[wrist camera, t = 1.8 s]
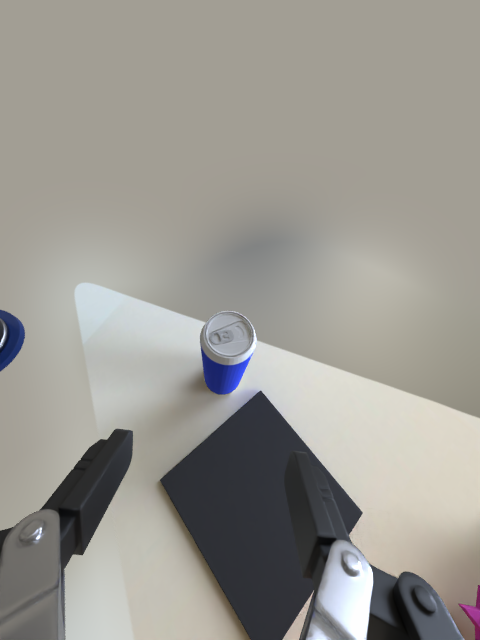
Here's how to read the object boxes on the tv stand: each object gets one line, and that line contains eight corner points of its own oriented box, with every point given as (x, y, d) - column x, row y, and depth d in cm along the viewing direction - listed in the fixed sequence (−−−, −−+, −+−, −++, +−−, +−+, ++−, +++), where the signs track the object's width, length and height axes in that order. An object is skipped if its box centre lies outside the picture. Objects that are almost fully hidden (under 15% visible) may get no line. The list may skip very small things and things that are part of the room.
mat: (264, 660, 20) (265, 666, 20) (160, 479, 26) (159, 480, 25) (360, 511, 27) (363, 513, 26) (259, 391, 32) (260, 390, 32)
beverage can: (233, 355, 34) (246, 302, 21) (244, 388, 32) (267, 351, 19) (200, 365, 33) (193, 315, 20) (210, 400, 31) (208, 369, 18)
